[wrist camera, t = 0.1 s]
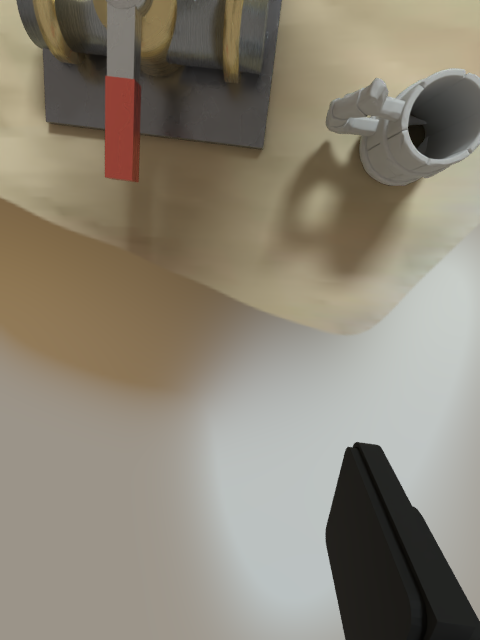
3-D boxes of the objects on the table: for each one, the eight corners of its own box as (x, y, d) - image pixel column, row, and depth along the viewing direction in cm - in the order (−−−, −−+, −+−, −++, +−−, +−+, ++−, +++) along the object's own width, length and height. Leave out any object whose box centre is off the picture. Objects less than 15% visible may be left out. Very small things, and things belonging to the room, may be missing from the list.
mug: (417, 195, 35) (493, 185, 24) (306, 166, 35) (329, 142, 24) (448, 113, 33) (548, 58, 21) (329, 82, 33) (367, 10, 21)
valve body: (42, -78, 30) (-26, -170, 23) (288, -50, 30) (297, -136, 23) (50, 123, 35) (-4, 99, 28) (262, 149, 35) (263, 131, 27)
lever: (105, -43, 24) (95, -60, 23) (155, -38, 24) (148, -55, 23) (105, 178, 29) (96, 176, 27) (147, 183, 29) (140, 181, 27)
